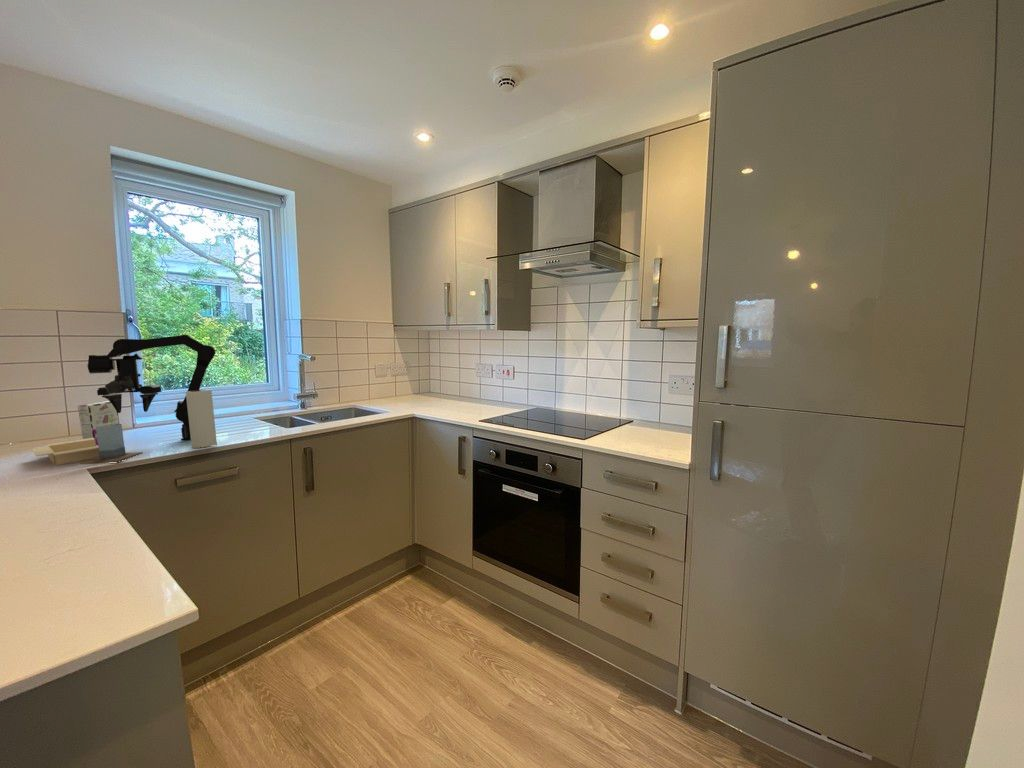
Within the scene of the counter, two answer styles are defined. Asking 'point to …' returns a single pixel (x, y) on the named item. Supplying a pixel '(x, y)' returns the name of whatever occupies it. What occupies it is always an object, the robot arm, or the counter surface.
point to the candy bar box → (96, 418)
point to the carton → (69, 451)
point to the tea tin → (110, 441)
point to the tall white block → (201, 418)
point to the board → (97, 460)
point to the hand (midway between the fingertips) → (132, 412)
